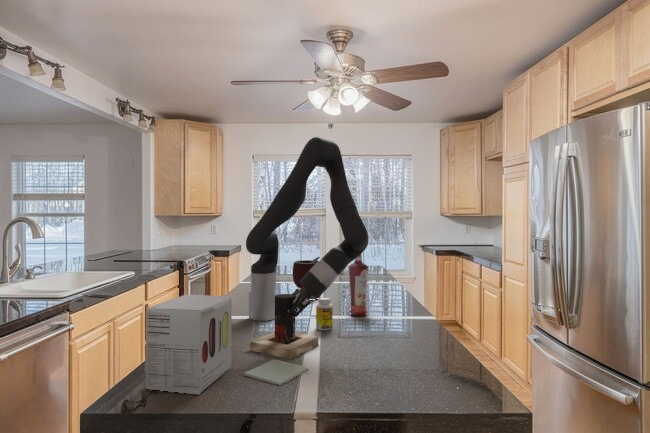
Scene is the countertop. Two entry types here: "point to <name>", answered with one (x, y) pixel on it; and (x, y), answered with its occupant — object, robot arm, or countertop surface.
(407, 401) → the countertop surface
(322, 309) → the supplement bottle
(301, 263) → the mate gourd
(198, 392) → the supplement box
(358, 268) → the liquor
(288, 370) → the plate
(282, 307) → the deodorant
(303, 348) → the socket block
